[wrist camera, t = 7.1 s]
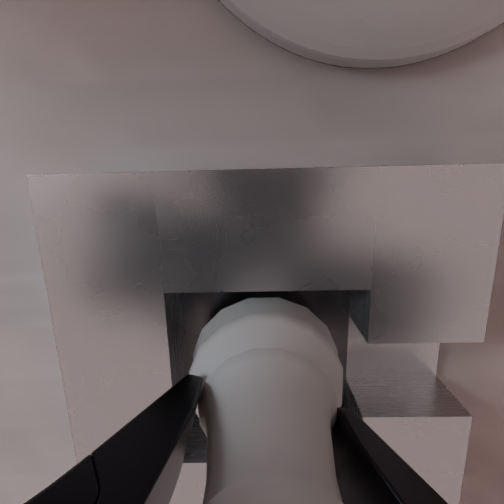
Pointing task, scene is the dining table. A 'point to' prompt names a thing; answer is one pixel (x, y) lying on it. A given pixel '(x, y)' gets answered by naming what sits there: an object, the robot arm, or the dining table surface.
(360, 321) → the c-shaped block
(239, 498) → the rook chess piece
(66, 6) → the dining table surface
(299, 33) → the candlestick
